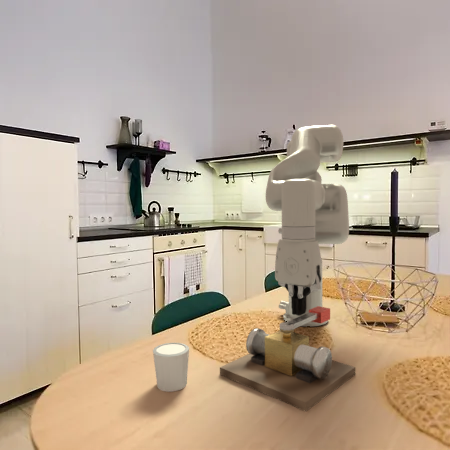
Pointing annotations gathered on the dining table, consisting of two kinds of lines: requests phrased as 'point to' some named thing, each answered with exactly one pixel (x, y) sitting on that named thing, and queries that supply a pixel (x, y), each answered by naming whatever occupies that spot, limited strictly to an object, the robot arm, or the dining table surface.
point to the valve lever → (306, 319)
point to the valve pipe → (289, 354)
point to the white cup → (171, 366)
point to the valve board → (286, 381)
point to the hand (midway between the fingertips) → (298, 313)
